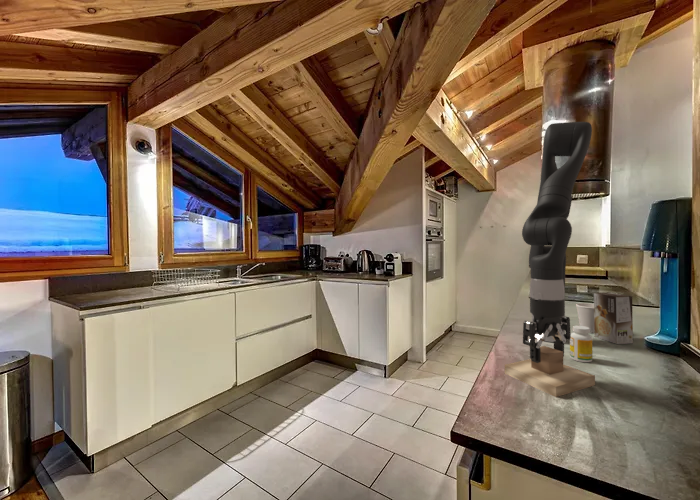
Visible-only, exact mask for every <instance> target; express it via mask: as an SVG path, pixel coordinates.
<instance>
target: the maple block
mask: <svg viewBox="0 0 700 500" xmlns="http://www.w3.org/2000/svg"><path fill="white" fill-rule="evenodd" d="M504 374H505V375H506V376H510V377H511V378H513V379H516V380H518V381H520V382H523V383H524V384H526V385H528V386H531V387H533V388H535V389H537V390H539V391H541V392H543V393H546V394H548V395H551V396H553V397H555V398H557V397H561V396H563V395H568V394H572V393H573V392H577V391H581V390H584V389H588V388H590V387H593V386H596V375H595V374H591V373H589V372H586V371H583V370H581V369H578V368H576V367H575V368H574V367H572V366H570V365H567V364H564V363H563V372H559V373H555V374H551V375H549V374H546V373H544V372H541V371H539V370H536V369H534V368H531V359H530V358H528V359H523V360H520V361H515V362H511V363H506V364H504Z"/></svg>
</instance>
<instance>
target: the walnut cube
mask: <svg viewBox="0 0 700 500" xmlns="http://www.w3.org/2000/svg"><path fill="white" fill-rule="evenodd" d="M540 351H541V362H540V363H536V362H533V361H531V368H534V369H536V370H539V371H541V372H544V373H546V374H549V375H551V374H555V373H559V372H563V364H564V357H563V351H559V350H556V349H554V347H549V346H547V345H541V346H540Z"/></svg>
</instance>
